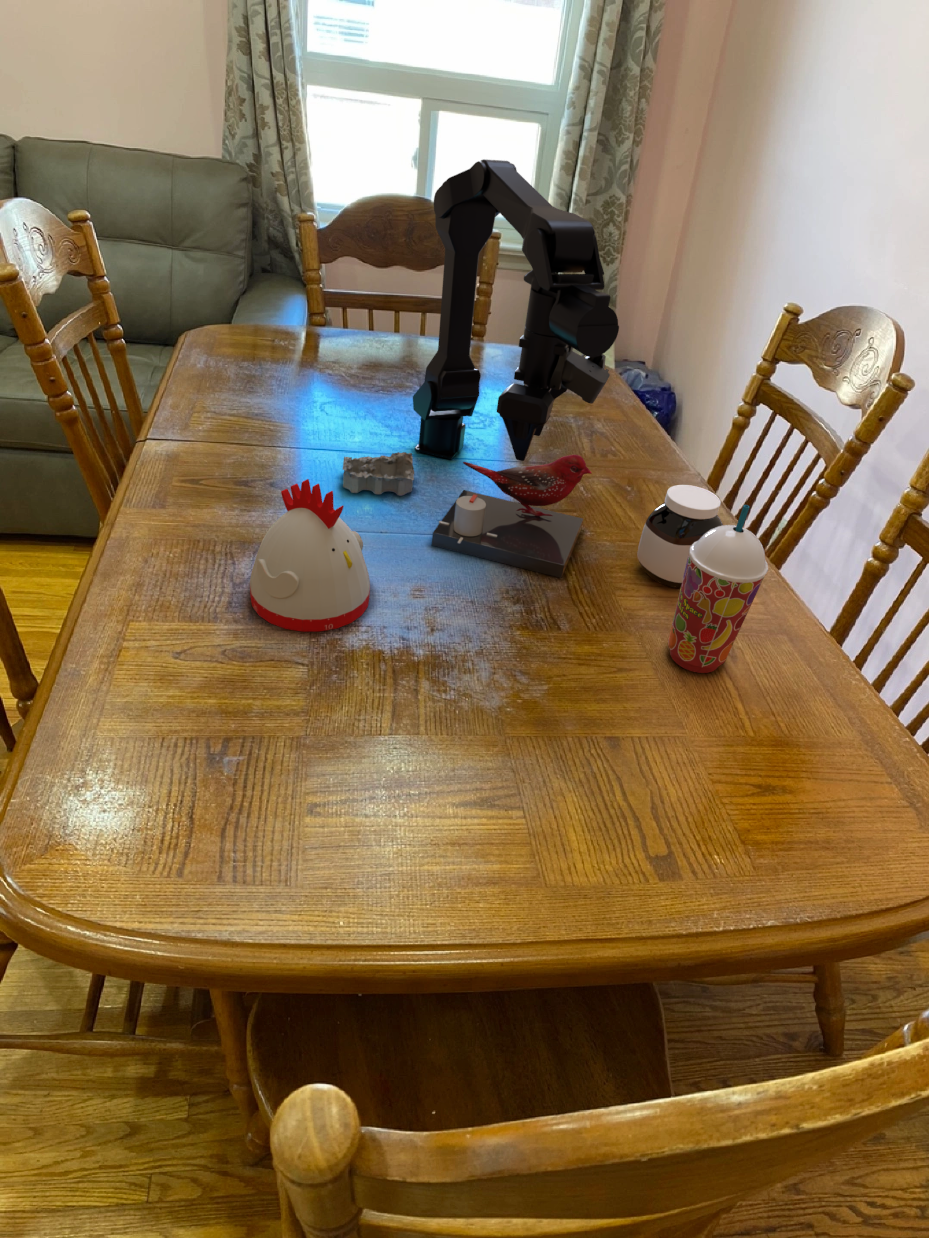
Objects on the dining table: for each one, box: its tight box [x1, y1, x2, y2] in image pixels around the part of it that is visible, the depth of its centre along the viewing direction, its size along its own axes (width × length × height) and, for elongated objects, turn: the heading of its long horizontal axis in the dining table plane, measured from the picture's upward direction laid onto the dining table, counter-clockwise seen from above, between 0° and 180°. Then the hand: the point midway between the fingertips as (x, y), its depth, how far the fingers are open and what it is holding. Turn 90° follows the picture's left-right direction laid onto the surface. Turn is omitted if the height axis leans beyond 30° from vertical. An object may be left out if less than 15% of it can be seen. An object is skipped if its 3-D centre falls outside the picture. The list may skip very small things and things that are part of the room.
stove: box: [431, 489, 584, 579], centre depth 113 cm, size 18×15×2 cm
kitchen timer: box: [249, 478, 371, 633], centre depth 93 cm, size 14×14×15 cm
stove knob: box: [453, 495, 486, 536], centre depth 110 cm, size 4×4×4 cm
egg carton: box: [341, 451, 415, 497], centre depth 122 cm, size 11×8×4 cm
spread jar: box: [636, 484, 724, 589], centre depth 109 cm, size 12×11×12 cm
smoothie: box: [667, 504, 769, 674], centre depth 90 cm, size 8×8×20 cm
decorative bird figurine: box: [462, 454, 593, 516], centre depth 113 cm, size 3×18×10 cm, turn 80°
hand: (528, 447), depth 110 cm, fingers open, 9 cm apart
